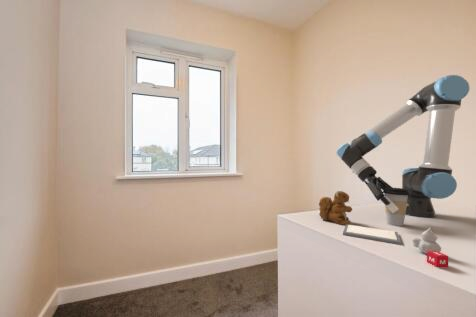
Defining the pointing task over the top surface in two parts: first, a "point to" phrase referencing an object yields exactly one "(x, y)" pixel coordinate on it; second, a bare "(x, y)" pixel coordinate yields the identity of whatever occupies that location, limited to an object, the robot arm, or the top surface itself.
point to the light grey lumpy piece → (427, 242)
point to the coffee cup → (400, 201)
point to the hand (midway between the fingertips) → (401, 209)
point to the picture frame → (372, 234)
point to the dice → (437, 259)
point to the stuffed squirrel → (335, 208)
